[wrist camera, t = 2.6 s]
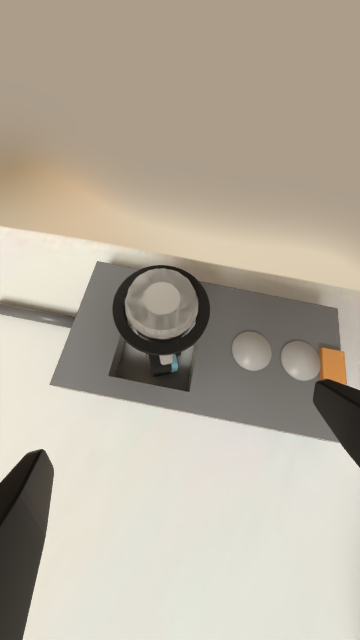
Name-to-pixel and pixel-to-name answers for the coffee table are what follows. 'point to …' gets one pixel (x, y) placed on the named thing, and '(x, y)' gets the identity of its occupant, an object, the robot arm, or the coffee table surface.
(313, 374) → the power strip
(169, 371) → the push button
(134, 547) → the coffee table surface
